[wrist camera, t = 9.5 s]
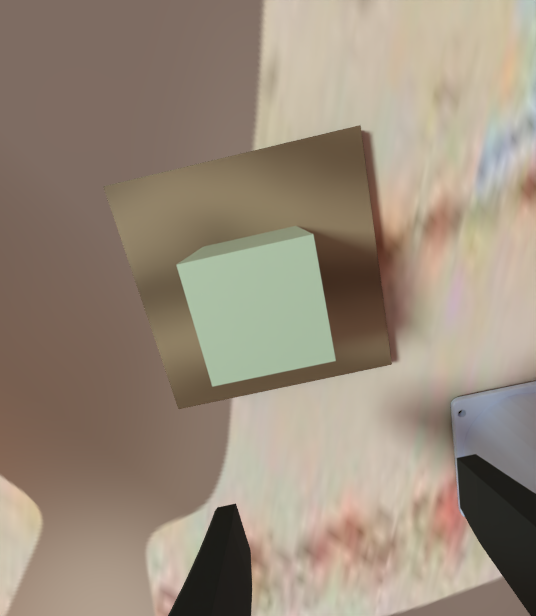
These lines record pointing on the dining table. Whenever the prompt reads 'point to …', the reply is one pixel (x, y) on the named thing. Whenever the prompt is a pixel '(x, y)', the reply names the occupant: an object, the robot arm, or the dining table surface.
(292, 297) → the sage block
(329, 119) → the dining table surface
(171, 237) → the walnut base board
